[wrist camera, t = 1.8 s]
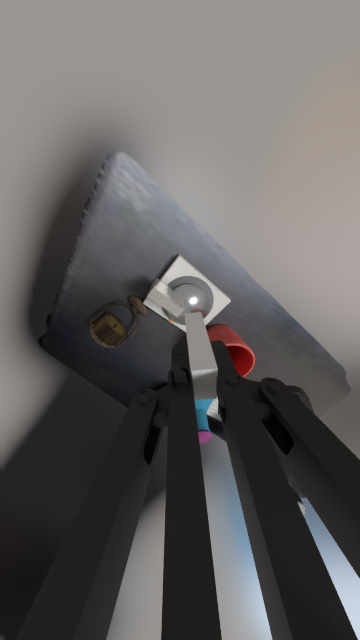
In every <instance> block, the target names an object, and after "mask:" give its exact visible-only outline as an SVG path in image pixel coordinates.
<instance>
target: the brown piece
mask: <svg viewBox="0 0 360 640" xmlns="http://www.w3.org/2000/svg"><path fill="white" fill-rule="evenodd" d="M129 300H130V302H131V303H132V304H133V307H132V306H130V305H129V304H126V303H114V304H111V305H109V306H108V307H106V308H105V309H104V310H103V311H101V312H100V313H99V314H98V315H97V316H95V317H94V318H93V319H92V320H91V321H90V333H91V335H92V337H93V338H94V340H95V341H96V342H97V343H98V344H100V345H101V346H103V347H106V348H117V347H119V346H120V345H121V344H123V343H124V342H125V341H126V340H128V339H129V338H130V337H131V336H133V335H134V334H135V333H136V331H137V329H138V326H139V316H138V313H137V312H140V313H141V314H142V315H143V316H147V307H146V305H145V304H143V301H142V300H140V299H139V298H137V297H135V296H130V297H129ZM114 305H124V306H127V307H129V308H130V309H131V310H132V311H133V312H134V314H135V315H136V319H137V325H136V328H135V330H134V331H133V332H132V333H131V334H130V335H128V336H127V330H126V327H125V326H124V324H123V323H122V322H121V321H120V320H119V319H118V318H117V317H115V316H114V315H112V314H110V313H106V314H105V315H104V316H102V317H101V318H100V319H99V320H97V321H96V322H95V323H93V322H94V321H95V320H96V319H97V318H99V317H100V316H101V315H102V314H103V313H104V312H106V311H107V310H108V309H109V308H110V307H112V306H114Z"/></svg>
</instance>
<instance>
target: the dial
mask: <svg viewBox="0 0 360 640" xmlns="http://www.w3.org/2000/svg"><path fill="white" fill-rule="evenodd" d="M147 297H149V298H150V299H152V300H153V301H154V302H156V303H157V304H159V305H160V306H162V307H163V308H164V309H166V310H167V313H168V315H169V317H170V318H171V319H172V320H173V321H174V322H176V323H178V324H181V325H186V324H185V314H186V313H196V312H201V313H202V317H203V319H204V318H205V316H206V315H207V313H208V311H209V300H208V297H207V295H206V293H205V291H204V290H203V289H202V288H201V287H199V286H198V285H196V284H192V283H184V284H180V285H178V286H176V287H175V288H173V289H171V288H169V287H168V286H167V285H165V284H164V283H163V282H162V281H160V280H159V279H158V278H157V279H156V280H155V281H154V283H153V284H152V285H151V288H150V290H149V293H148V295H147Z"/></svg>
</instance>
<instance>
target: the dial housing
mask: <svg viewBox="0 0 360 640" xmlns="http://www.w3.org/2000/svg"><path fill="white" fill-rule="evenodd" d="M160 281H162V282H163V283H164V284H165V285H167V286H168V287H169V288H171V289H173V288H175V287H176V286H178V285H180V284H184V283H192V284H196V285H198V286H199V287H201V288H202V289H203V290H204V291H205V293H206V295H207V297H208V300H209V311H208V313H207V315H206V316H205V318H204V319H203V320H204V323H205V325H206V324H207V323H208V322H210V321H211V320H212V319H213V318H214V317H215V316H216V315H217V314H218V313H219V312H220V311H221V310H222V309H223V308H224V307H225V306H226V305H227V304H229V303H230V302H231V300H230V299H229V297H228V296H226V295H225V294H224V293H223V292H222V291H221V290H220V289H218V288H217V287H216V286H215V285H214V284H213V283H212V282H210V281H209V280H208V279H207V278H206V277H205V276H204V275H202V274H201V273H200V272H199V271H198V270H197V269H196V268H195V267H193V266H192V265H191V264H190V263H189V262H188V261H187V260H185V259H184V258H183V257H182V256H181V255H180V254H179V255H178V256H177V258H176V259H175V260H174V262H173V263H172V264H171V266H170V267H169V268H168V270H167V271H166V272H165V273H164V275H163V276H162V277H161V279H160ZM143 304H145V305H146V306H148V307H149V308H150V309H152V310H153V311H155V312H156V313H158V314H159V315H161V316H162V317H164V318H165V319H167V320H168V321H169V322H171V323H173V324H174V325H176V326H177V327H179V328H180V329H182V330H183V331H185V332H186V325H181V324H178V323H176V322H174V321H173V320H172V319H171V318H170V317H169V315H168V313H167V310H166V309H164V308H163V307H162V306H160V305H159V304H157V303H156V302H154V301H153V300H152V299H150V298H149V297H146V298H145V300H144V302H143Z"/></svg>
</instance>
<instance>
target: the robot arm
mask: <svg viewBox="0 0 360 640" xmlns="http://www.w3.org/2000/svg"><path fill="white" fill-rule="evenodd" d="M185 324H186V334H187V344H178V345H174V347H173V349H172V363H171V369H170V371H169V372H168V380H169V383H168V384H167V385H166V386H165V387H163V388H161V389H159V390H156V391H154V390H153V389H150V388H146V389H142V390H140V391H139V392H137V393H136V395H135V396H134V397H133V399H132V401H131V403H130V406H129V408H128V410H127V412H126V414H125V416H124V418H123V420H122V422H121V424H120V426H119V428H118V430H117V432H116V435H115V436H114V438H113V441H112V443H111V445H110V447H109V449H108V451H107V453H106V455H105V457H104V459H103V461H102V463H101V465H100V467H99V469H98V471H97V473H96V476H95V478H94V480H93V482H92V484H91V486H90V488H89V490H88V492H87V494H86V496H85V498H84V500H83V502H82V504H81V506H80V508H79V510H78V513H77V515H76V517H75V519H74V521H73V523H72V525H71V527H70V529H69V531H68V533H67V535H66V537H65V539H64V541H63V543H62V546H61V548H60V549H59V552H58V554H57V556H56V558H55V560H54V562H53V564H52V566H51V568H50V570H49V572H48V574H47V576H46V578H45V580H44V582H43V585H42V587H41V589H40V591H39V593H38V595H37V597H36V599H35V601H34V603H33V605H32V607H31V610H30V611H29V613H28V615H27V618H26V619H25V622H24V623H23V626H22V628H21V630H20V632H19V634H18V636H17V638H16V640H106V637H107V634H108V630H109V627H110V623H111V619H112V615H113V612H114V608H115V604H116V601H117V597H118V593H119V590H120V586H121V582H122V579H123V575H124V571H125V568H126V564H127V560H128V557H129V553H130V549H131V546H132V542H133V538H134V534H135V531H136V527H137V524H138V520H139V516H140V512H141V508H142V505H143V501H144V497H145V494H146V490H147V486H148V483H149V479H150V476H151V472H152V468H153V465H154V460H155V457H156V453H157V450H158V446H159V443H160V439H161V435H162V431H163V428H164V427H165V426H167V425H168V448H167V478H166V479H167V481H166V509H165V541H164V572H163V604H162V605H163V606H162V634H161V640H222V638H221V630H220V620H219V612H218V603H217V594H216V585H215V576H214V567H213V558H212V550H211V542H210V532H209V523H208V514H207V506H206V497H205V488H204V479H203V470H202V462H201V452H200V444H199V435H198V426H197V417H196V408H195V400H203V399H215V398H217V397H218V401H219V403H218V414H220V416H221V420H222V424H223V429H224V433H225V437H226V442H227V446H228V450H229V454H230V459H231V463H232V467H233V471H234V476H235V480H236V484H237V489H238V493H239V497H240V501H241V506H242V510H243V514H244V518H245V523H246V527H247V531H248V536H249V540H250V544H251V549H252V553H253V557H254V561H255V566H256V570H257V574H258V579H259V583H260V587H261V591H262V596H263V600H264V604H265V608H266V613H267V617H268V621H269V626H270V630H271V635H272V639H273V640H358V639H357V637H356V635H355V632H354V630H353V628H352V625H351V623H350V621H349V619H348V616H347V614H346V612H345V609H344V607H343V605H342V603H341V600H340V598H339V596H338V593H337V591H336V589H335V587H334V584H333V582H332V580H331V577H330V576H329V573H328V571H327V568H326V566H325V564H324V562H323V559H322V557H321V555H320V553H319V550H318V548H317V546H316V543H315V541H314V539H313V536H312V534H311V532H310V529H309V527H308V525H307V523H306V520H305V518H304V515H305V507H304V505H303V503H302V501H301V498H306V497H307V499H308V500H309V502H310V503H311V505H312V506H313V508H314V509H315V511H316V512H317V514H318V516H319V517H320V518H321V520H322V522H323V523H324V525H325V526H326V528H327V529H328V531H329V532H330V534H331V535H332V537H333V538H334V540H335V541H336V543H337V544H338V546H339V548H340V549H341V551H342V552H343V554H344V555H345V557H346V558H347V560H348V561H349V563H350V564H351V566H352V567H353V569H354V570H355V572H356V573H357V575H358V576H359V578H360V460H359V459H358V458H357V457H356V456H355V455H354V454H353V453H352V452H351V451H350V450H349V449H348V448H347V447H346V446H345V445H344V444H343V443H342V442H341V441H340V440H339V439H338V438H337V437H336V436H335V435H334V434H333V433H332V431H330V429H329V428H328V427H326V425H325V424H324V423H323V422H322V421H321V420H320V419H319V418H318V417H317V416H316V415H315V413H314V411H313V408H312V405H311V402H310V400H309V398H308V396H307V395H306V393H305V392H304V391H303V390H302V389H301V388H299V387H295V386H286V385H285V384H284V383H282V382H281V381H280V380H277V379H275V378H270V377H269V378H264V379H263V380H261V382H256V381H251V380H247V379H245V378H243V377H242V376H241V375H240V374H239V373H238V372H237V371H236V368H235V366H234V363H233V361H232V359H231V356H230V354H229V351H228V349H227V347H226V344H225V343H223V342H222V341H221V340H217V341H210V340H209V337H208V334H207V330H206V327H205V323H204V320H203V317H202V313H201V312H196V313H186V314H185Z"/></svg>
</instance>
